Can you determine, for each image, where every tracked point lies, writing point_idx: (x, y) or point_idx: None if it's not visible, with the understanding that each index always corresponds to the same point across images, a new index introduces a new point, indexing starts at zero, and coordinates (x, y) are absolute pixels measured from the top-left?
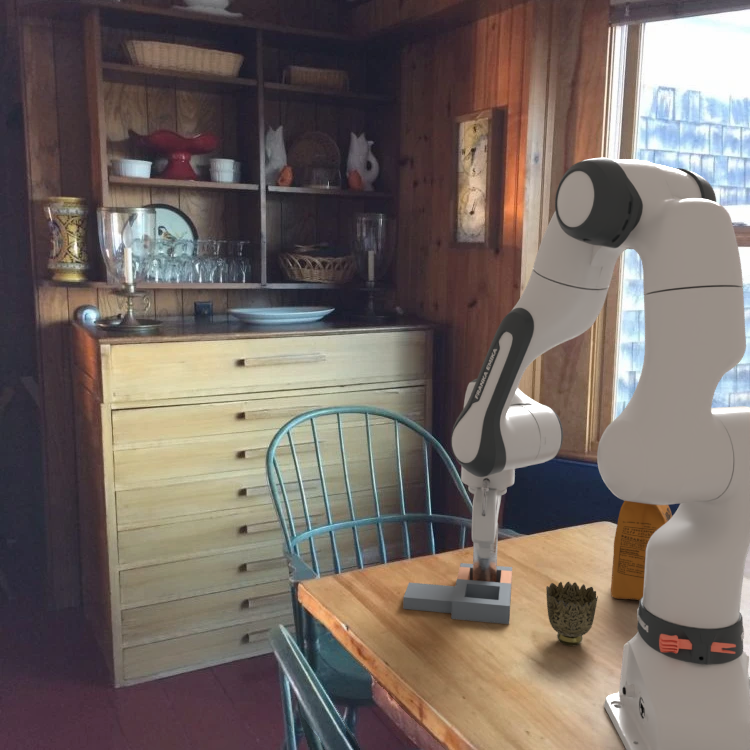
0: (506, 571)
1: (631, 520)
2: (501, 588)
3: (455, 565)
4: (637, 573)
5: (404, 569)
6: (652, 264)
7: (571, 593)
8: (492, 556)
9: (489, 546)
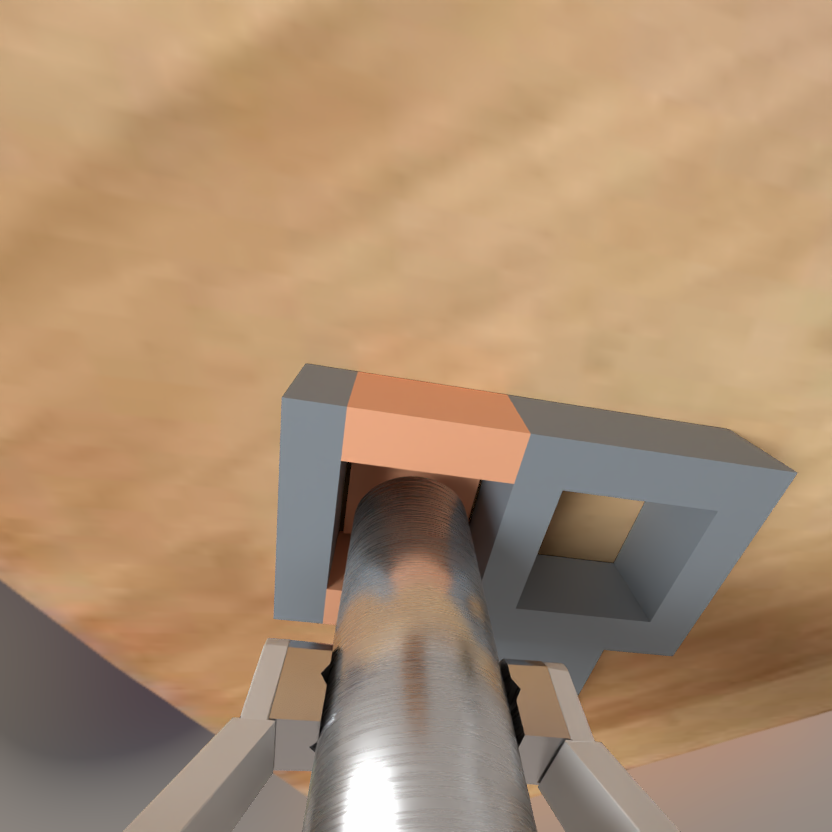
0: (356, 436)
1: None
2: (589, 485)
3: (147, 566)
4: None
5: (240, 696)
6: None
7: None
8: (486, 623)
9: (620, 771)
